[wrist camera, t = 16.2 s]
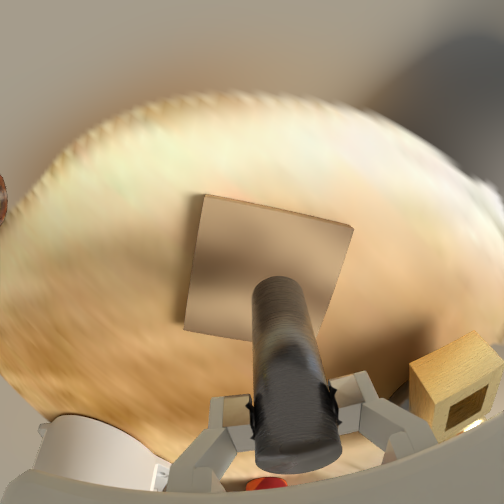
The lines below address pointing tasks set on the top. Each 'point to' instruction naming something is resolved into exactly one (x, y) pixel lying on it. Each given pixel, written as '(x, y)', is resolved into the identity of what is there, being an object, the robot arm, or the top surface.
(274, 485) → the paper cup
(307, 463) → the steel cylinder
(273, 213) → the wooden mat
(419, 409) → the chuck collar
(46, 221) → the top surface
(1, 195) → the sauce bottle
